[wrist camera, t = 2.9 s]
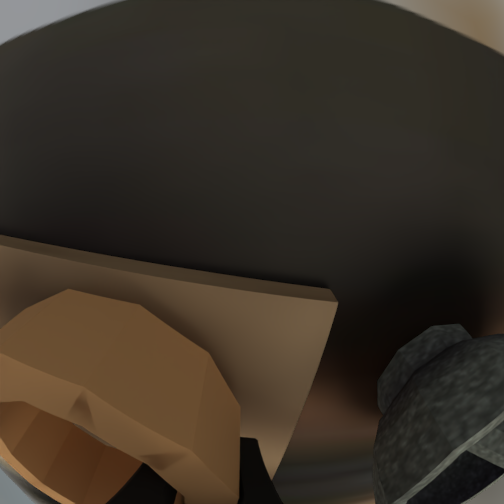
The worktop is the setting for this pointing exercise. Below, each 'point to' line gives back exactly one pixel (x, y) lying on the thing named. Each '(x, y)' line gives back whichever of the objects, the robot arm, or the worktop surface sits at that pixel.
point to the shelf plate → (198, 324)
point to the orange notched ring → (113, 403)
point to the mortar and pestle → (440, 419)
